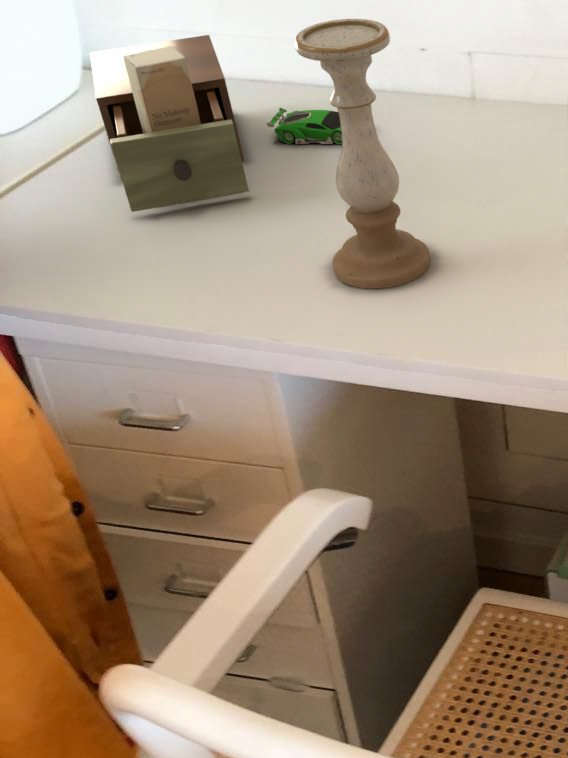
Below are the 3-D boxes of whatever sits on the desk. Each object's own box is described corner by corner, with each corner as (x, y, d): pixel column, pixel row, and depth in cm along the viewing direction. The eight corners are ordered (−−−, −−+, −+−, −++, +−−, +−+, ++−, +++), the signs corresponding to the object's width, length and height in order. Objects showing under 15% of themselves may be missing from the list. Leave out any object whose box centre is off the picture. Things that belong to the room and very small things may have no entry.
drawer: (250, 196, 128) (234, 127, 123) (132, 217, 125) (111, 148, 121) (232, 142, 138) (217, 77, 134) (123, 160, 136) (103, 95, 131)
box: (164, 182, 129) (131, 67, 121) (151, 167, 131) (118, 54, 124) (215, 169, 131) (186, 55, 123) (201, 155, 133) (172, 43, 126)
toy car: (371, 128, 142) (368, 107, 141) (359, 145, 139) (355, 124, 137) (284, 127, 143) (279, 106, 142) (270, 144, 140) (265, 123, 138)
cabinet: (244, 161, 137) (224, 78, 131) (121, 182, 134) (96, 98, 128) (228, 113, 147) (209, 34, 141) (113, 132, 144) (89, 52, 139)
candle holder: (348, 298, 113) (300, 59, 100) (323, 257, 119) (275, 27, 106) (443, 275, 116) (409, 39, 102) (414, 236, 122) (378, 8, 108)
